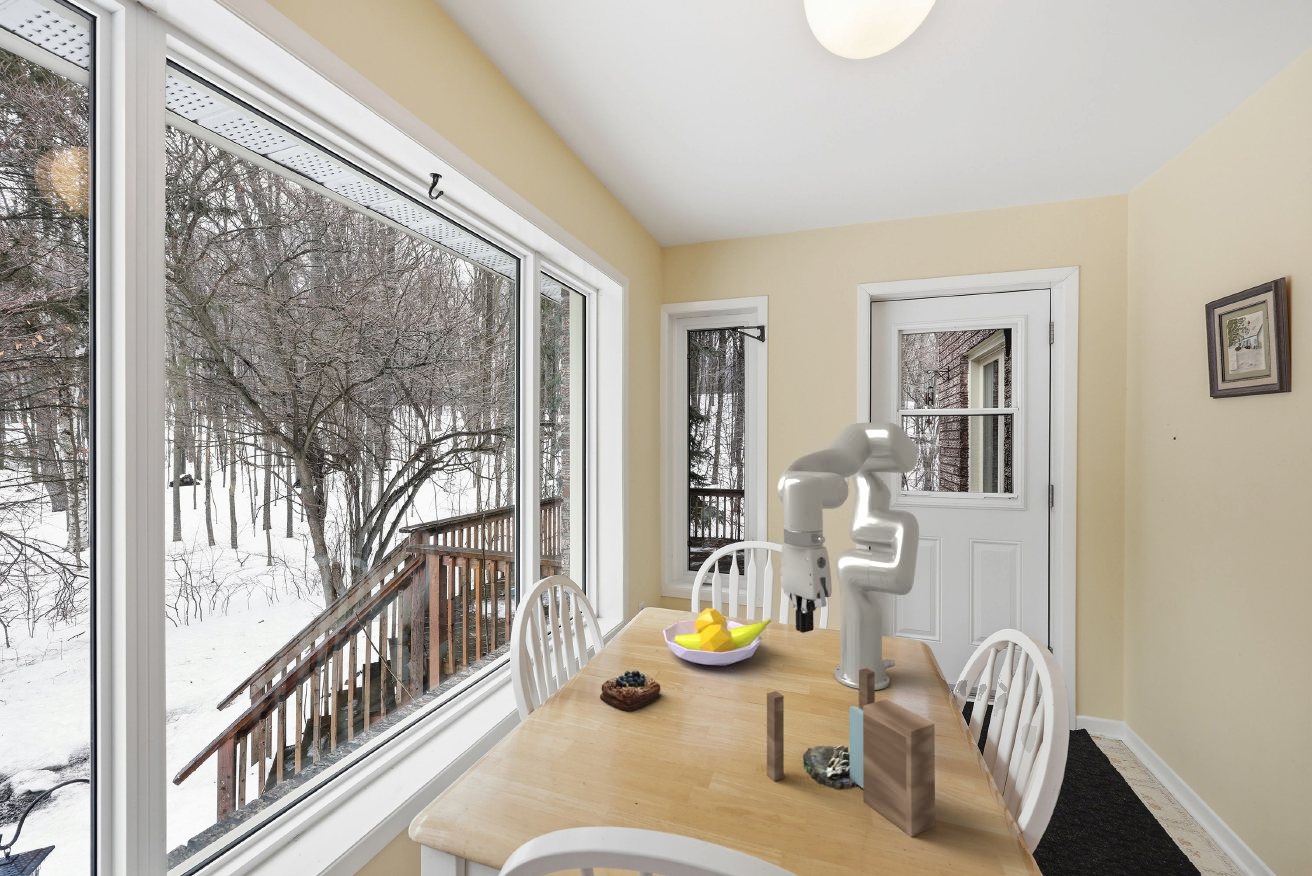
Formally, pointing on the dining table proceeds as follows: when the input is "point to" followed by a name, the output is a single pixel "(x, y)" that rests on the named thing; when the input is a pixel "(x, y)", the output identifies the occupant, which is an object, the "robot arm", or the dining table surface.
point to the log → (829, 766)
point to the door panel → (856, 744)
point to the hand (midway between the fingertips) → (804, 630)
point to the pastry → (630, 691)
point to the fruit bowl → (713, 639)
